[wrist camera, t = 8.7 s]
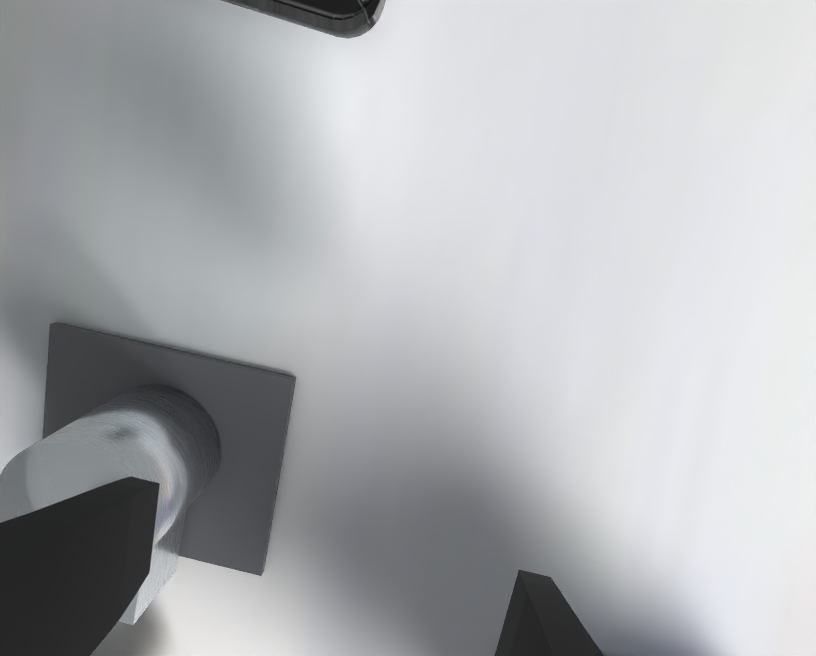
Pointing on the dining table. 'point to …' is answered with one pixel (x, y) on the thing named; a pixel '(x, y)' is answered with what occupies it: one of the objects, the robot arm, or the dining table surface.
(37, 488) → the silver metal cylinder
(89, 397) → the mat
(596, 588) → the dining table surface
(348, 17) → the phone
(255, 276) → the dining table surface
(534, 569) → the dining table surface
